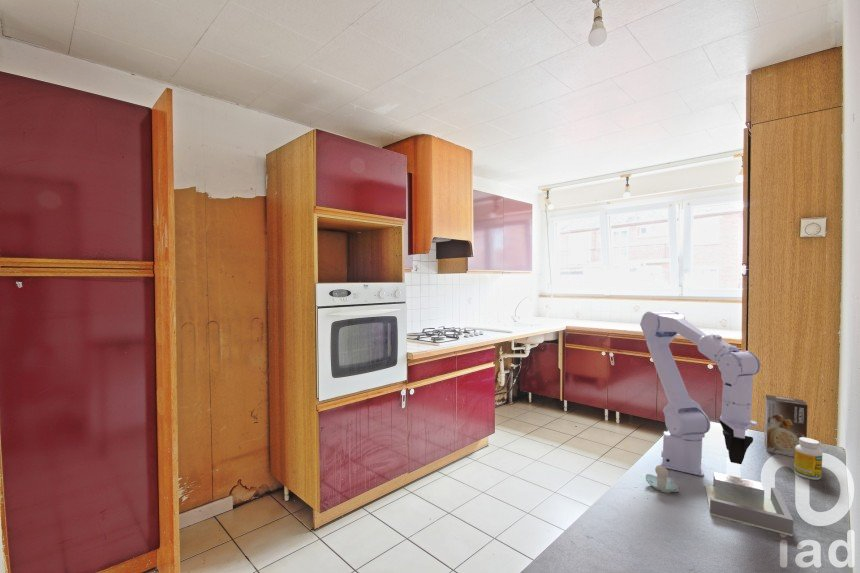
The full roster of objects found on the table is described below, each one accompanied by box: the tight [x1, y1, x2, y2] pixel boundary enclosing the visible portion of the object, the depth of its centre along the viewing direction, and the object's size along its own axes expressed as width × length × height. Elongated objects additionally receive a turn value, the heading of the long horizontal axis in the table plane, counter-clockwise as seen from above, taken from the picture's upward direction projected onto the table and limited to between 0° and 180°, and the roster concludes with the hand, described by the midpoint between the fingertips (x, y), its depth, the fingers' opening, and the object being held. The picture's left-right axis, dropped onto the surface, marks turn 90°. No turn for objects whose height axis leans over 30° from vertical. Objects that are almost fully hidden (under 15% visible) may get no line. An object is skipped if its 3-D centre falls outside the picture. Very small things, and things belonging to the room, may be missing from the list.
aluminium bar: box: [712, 471, 765, 510], centre depth 95 cm, size 9×4×5 cm, turn 60°
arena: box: [704, 484, 794, 537], centre depth 93 cm, size 14×14×3 cm
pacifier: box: [645, 465, 680, 494], centre depth 101 cm, size 7×6×6 cm
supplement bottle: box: [793, 437, 823, 481], centre depth 108 cm, size 5×5×10 cm
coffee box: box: [763, 394, 808, 458], centre depth 122 cm, size 9×6×16 cm
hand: (733, 456), depth 98 cm, fingers open, 7 cm apart
